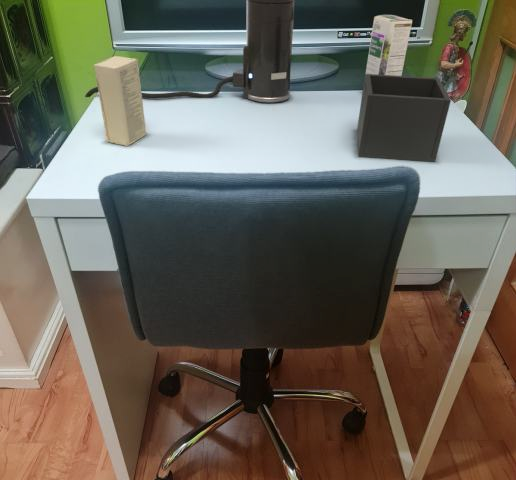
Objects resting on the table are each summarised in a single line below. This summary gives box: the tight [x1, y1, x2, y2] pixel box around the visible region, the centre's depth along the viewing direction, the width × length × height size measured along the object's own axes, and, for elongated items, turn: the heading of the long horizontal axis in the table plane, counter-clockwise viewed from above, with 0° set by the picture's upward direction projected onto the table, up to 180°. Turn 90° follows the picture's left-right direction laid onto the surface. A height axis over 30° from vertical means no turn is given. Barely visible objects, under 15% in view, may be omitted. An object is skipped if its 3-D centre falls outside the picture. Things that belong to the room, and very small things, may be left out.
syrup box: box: [365, 14, 413, 76], centre depth 107 cm, size 6×6×14 cm
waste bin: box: [356, 73, 452, 163], centre depth 86 cm, size 13×13×10 cm
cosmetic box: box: [93, 55, 147, 147], centre depth 84 cm, size 6×4×12 cm
